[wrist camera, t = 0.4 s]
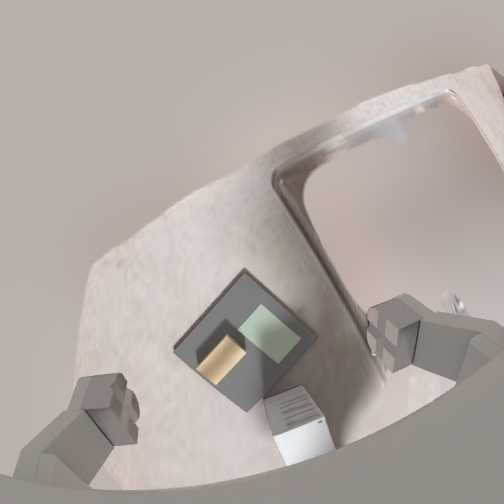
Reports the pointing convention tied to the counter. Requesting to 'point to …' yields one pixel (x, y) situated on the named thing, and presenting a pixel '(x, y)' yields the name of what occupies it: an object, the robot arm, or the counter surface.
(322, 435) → the supplement box
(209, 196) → the counter surface
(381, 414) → the counter surface
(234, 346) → the maple card box
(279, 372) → the rubber mat
